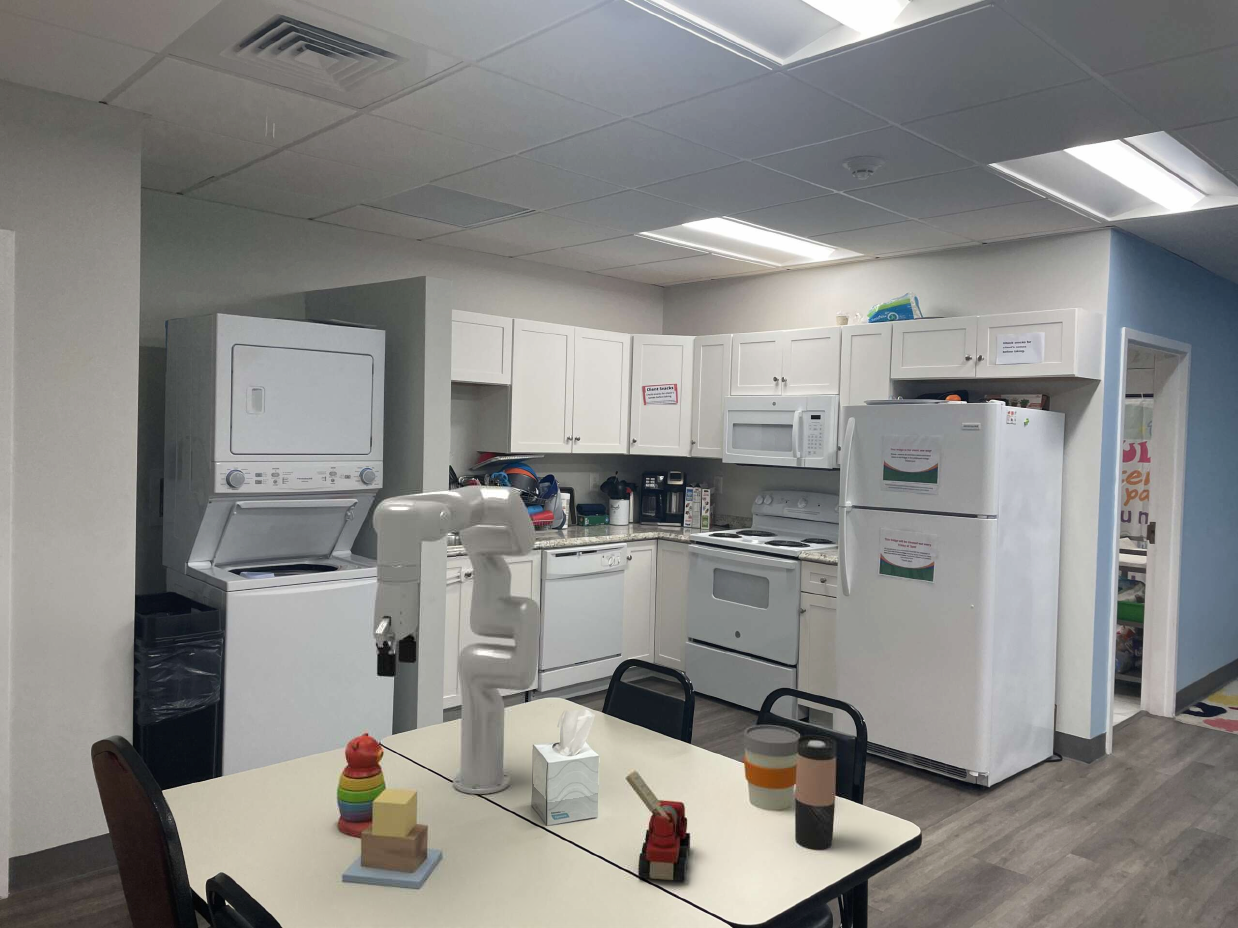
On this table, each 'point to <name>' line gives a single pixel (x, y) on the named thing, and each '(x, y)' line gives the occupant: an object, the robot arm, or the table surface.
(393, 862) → the long brick
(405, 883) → the base board
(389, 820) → the cube brick
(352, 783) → the stacking bear
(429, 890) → the table surface
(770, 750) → the reusable coffee cup
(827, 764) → the travel mug
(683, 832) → the toy fire truck
